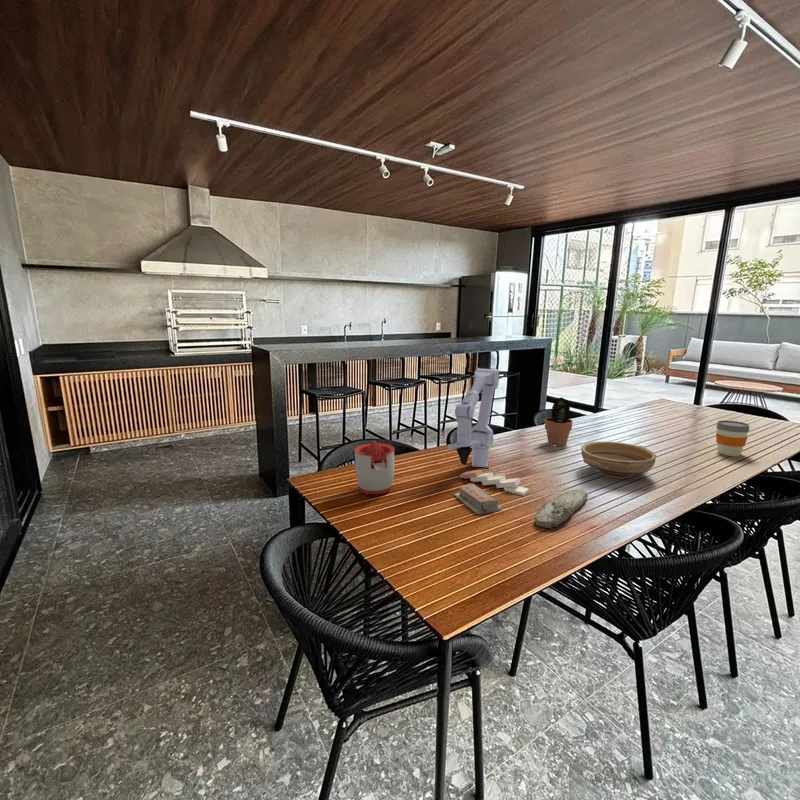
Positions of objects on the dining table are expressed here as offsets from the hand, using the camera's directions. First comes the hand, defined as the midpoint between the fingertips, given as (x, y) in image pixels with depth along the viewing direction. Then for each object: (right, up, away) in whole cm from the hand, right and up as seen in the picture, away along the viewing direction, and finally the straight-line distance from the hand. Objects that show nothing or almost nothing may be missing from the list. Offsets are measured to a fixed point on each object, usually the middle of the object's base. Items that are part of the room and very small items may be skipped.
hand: (463, 464), depth 180 cm
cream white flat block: (+4, -6, -2) cm, 7 cm away
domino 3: (+8, -6, -6) cm, 12 cm away
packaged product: (+1, -11, -23) cm, 26 cm away
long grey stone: (+30, -12, -31) cm, 44 cm away
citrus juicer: (-36, -9, -12) cm, 39 cm away
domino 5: (+15, -8, -11) cm, 21 cm away
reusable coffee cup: (+133, +1, +29) cm, 136 cm away
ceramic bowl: (+66, -5, +4) cm, 66 cm away
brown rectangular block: (0, -5, +1) cm, 5 cm away
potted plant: (+56, +3, +47) cm, 73 cm away
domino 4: (+13, -7, -9) cm, 17 cm away
